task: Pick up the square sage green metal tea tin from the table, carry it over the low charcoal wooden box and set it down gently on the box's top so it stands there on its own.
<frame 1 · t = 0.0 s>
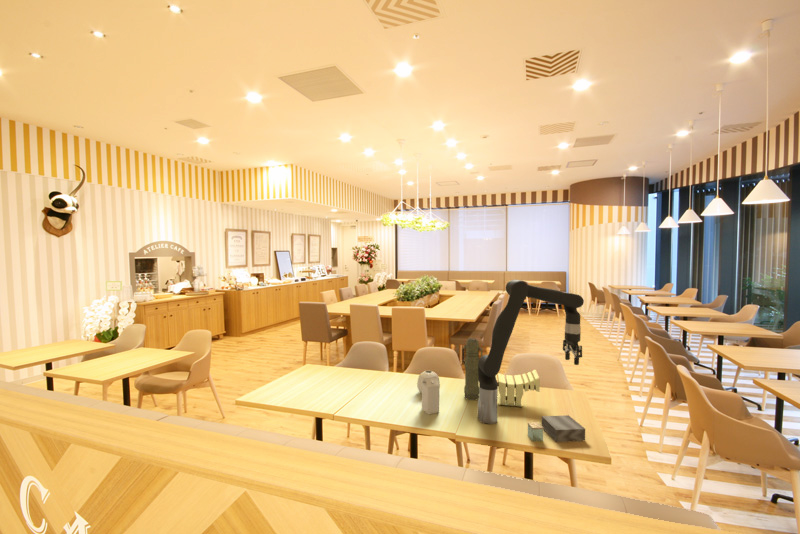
hand: (571, 362, 192), 29 cm above the table, tool pointing down, fingers open, 8 cm apart
vase: (428, 393, 224), on the table
milk carton: (430, 411, 199), on the table
charcoal box: (562, 434, 174), on the table
slatted curved stool: (509, 402, 211), on the table
dark green pillar: (471, 397, 219), on the table
tea tin: (535, 438, 170), on the table
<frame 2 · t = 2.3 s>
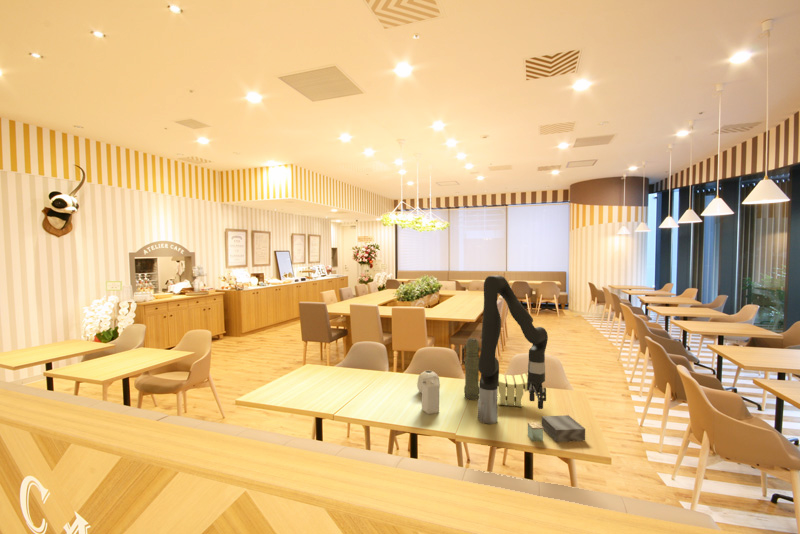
hand: (536, 404, 170), 16 cm above the table, tool pointing down, fingers open, 8 cm apart
nothing on the table moved.
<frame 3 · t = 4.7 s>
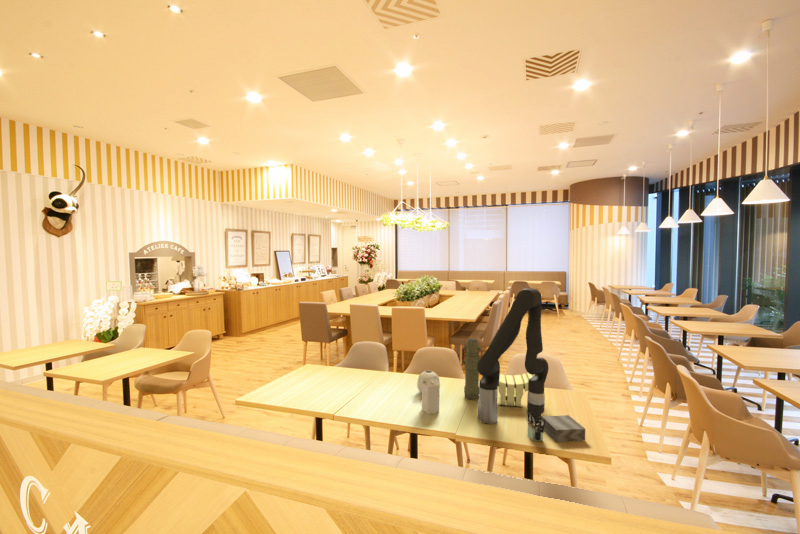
hand: (535, 436, 170), 1 cm above the table, tool pointing down, fingers closed on tea tin, 5 cm apart
tea tin: (535, 438, 170), on the table, touching gripper
everything else where it was.
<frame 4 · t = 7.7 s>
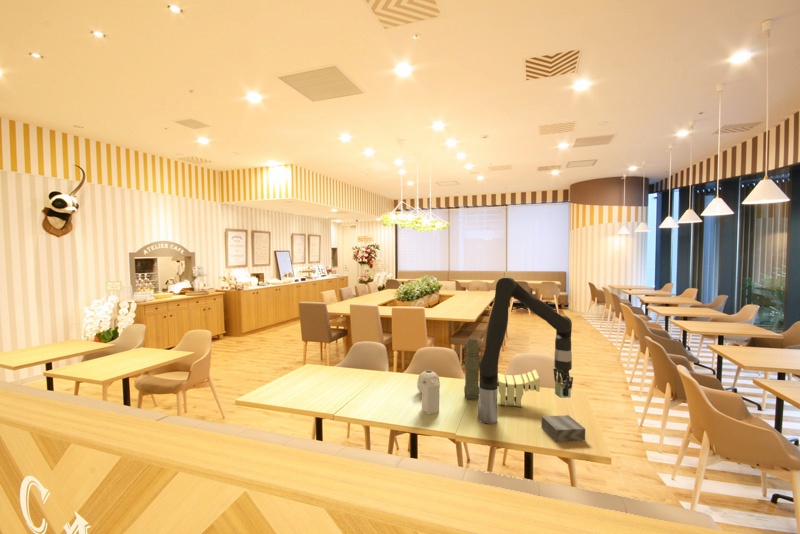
hand: (562, 393, 173), 20 cm above the table, tool pointing down, fingers closed on tea tin, 5 cm apart
tea tin: (562, 395, 173), point 19 cm above the table, touching gripper
everything else where it was.
when the fingers open (8 cm above the table, at t = 11.1 s): tea tin drops 1 cm, resting on charcoal box.
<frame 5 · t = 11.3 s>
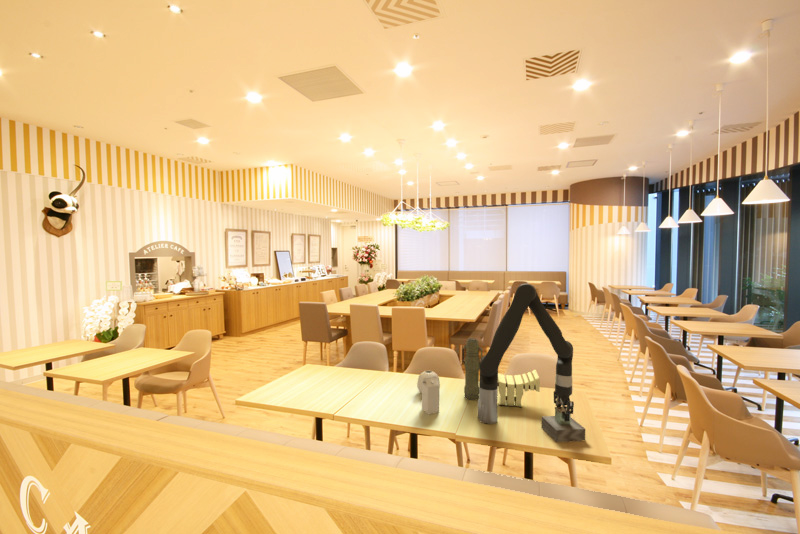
hand: (562, 417, 174), 8 cm above the table, tool pointing down, fingers open, 6 cm apart
charcoal box: (562, 434, 174), on the table, touching tea tin
tea tin: (562, 422, 174), point 6 cm above the table, touching charcoal box
everything else where it was.
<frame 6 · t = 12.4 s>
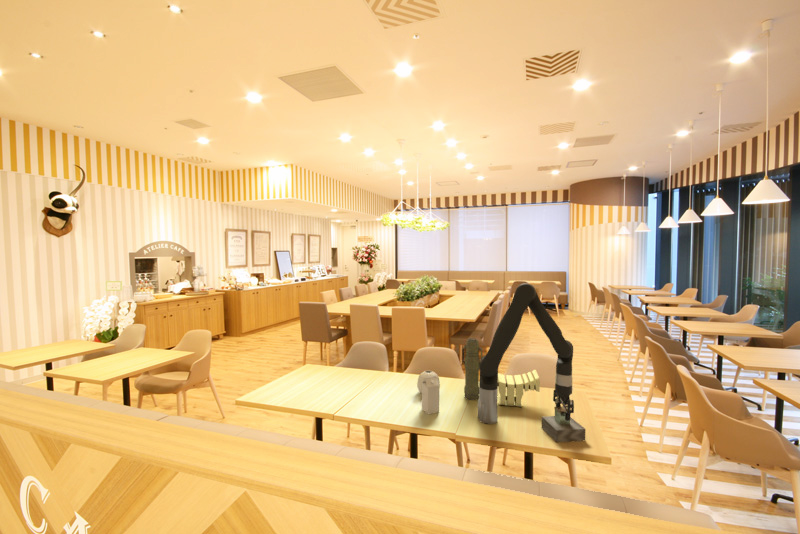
hand: (562, 416, 174), 9 cm above the table, tool pointing down, fingers open, 8 cm apart
nothing on the table moved.
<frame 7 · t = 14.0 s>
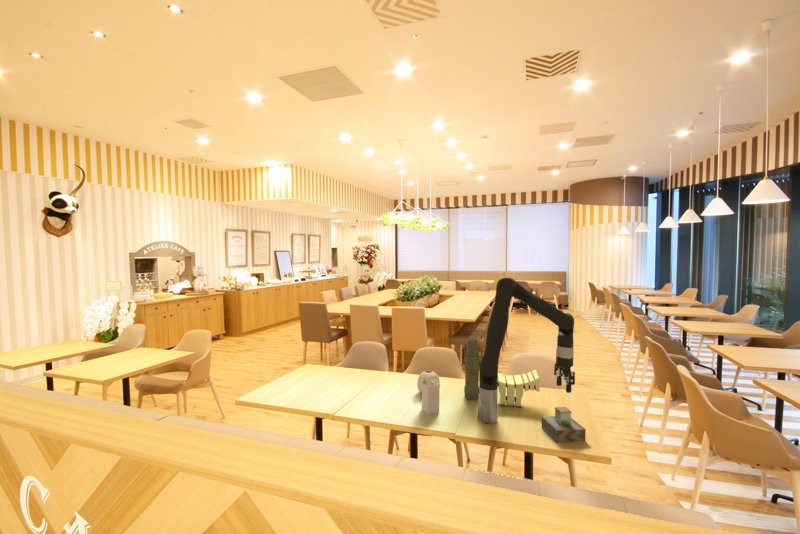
hand: (563, 388, 173), 22 cm above the table, tool pointing down, fingers open, 8 cm apart
charcoal box: (562, 435, 174), on the table
tea tin: (562, 422, 174), point 6 cm above the table
everything else where it was.
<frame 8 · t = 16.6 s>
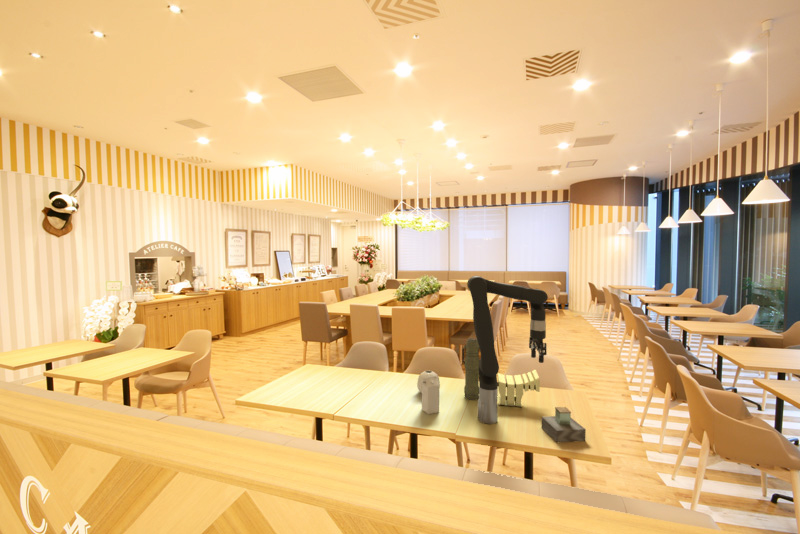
hand: (537, 360, 185), 32 cm above the table, tool pointing down, fingers open, 8 cm apart
nothing on the table moved.
at the end: tea tin inside the target area on the charcoal box (0.2 cm from its centre), point 6.0 cm above the charcoal box's base; tea tin tilted 0°; the gripper is holding nothing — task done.
